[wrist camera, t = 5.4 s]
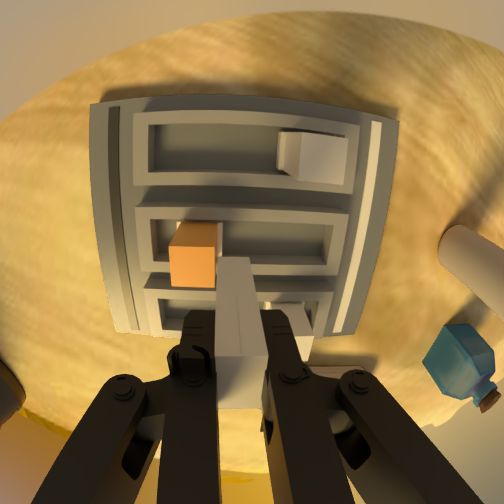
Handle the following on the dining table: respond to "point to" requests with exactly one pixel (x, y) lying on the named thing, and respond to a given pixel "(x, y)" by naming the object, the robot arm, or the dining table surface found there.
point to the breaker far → (296, 324)
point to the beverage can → (475, 264)
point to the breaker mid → (195, 252)
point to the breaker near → (312, 157)
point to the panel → (235, 204)
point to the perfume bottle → (463, 365)
